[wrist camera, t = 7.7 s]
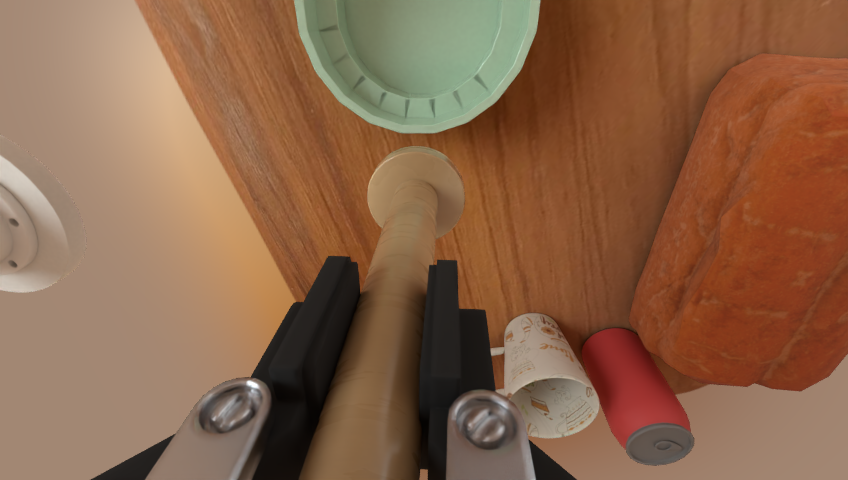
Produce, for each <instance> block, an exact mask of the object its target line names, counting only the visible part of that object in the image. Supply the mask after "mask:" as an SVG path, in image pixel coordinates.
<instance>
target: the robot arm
mask: <svg viewBox="0 0 848 480" xmlns="http://www.w3.org/2000/svg"><path fill="white" fill-rule="evenodd" d="M37 249H38V238H37V234H36V230H35V227H34V225H33V223H32V221H31V219H30V217H29V215H28V214H27V212H26V211H25V209H24V208H23V206H22V205H21V204H20V203H19V202H18V201H17V199H16V198H15V197H14V196H13V195H12V194H11V193H10V192H9V191H8V190H7V189H5V188H4V187H3V186H2V185H1V184H0V275H7V274H11V273H14V272H17V271H19V270H20V269H22V268H24V267H26V266H27V265H28V264H30V263H31V262H32V261H33V259H34V258H35V256H36V254H37ZM359 297H360V284H359V272H358V264H357V262H351V259H350V257H345V256H328V258H327V259H326V261H325V263H324V265H323V267H322V269H321V270H320V272H319V274H318V276H317V278H316V280H315V282H314V284H313V285H312V287H311V289H310V291H309V293H308V295H307V297H306V298H305V300H304V302H295V303H293V305H292V306H291V308H290V309H289V311H288V313H287V314H286V316H285V318H284V320H283V321H282V323H281V325H280V327H279V328H278V330H277V332H276V334H275V335H274V337H273V339H272V341H271V342H270V344H269V346H268V348H267V349H266V351H265V353H264V355H263V356H262V358H261V360H260V362H259V363H258V365H257V367H256V369H255V370H254V372H253V374H252V376H251V377H245V378H236V379H232V380H229V381H225V382H223V383H221V384H219V385H217V386H216V387H214V388H212V389H211V390H210V391H208V392H207V393H206V394H205V395H203V396H202V398H201V399H200V400H199V401H198V402H197V403H196V405H195V406H194V407H193V409H192V410H191V412H190V413H189V415H188V416H187V418H186V419H185V421H184V422H183V424H182V425H181V427H180V428H179V430H178V431H177V433H176V434H174V435H172V436H170V437H169V438H167V439H165V440H163V441H161V442H159V443H158V444H156V445H154V446H152V447H150V448H148V449H146V450H145V451H143V452H141V453H139V454H137V455H135V456H134V457H132V458H130V459H128V460H126V461H124V462H122V463H121V464H119V465H117V466H115V467H113V468H111V469H110V470H108V471H106V472H104V473H102V474H101V475H99V476H97V477H95V478H93V479H91V480H298V479H299V476H300V473H301V470H302V467H303V464H304V461H305V458H306V455H307V452H308V449H309V447H310V444H311V441H312V438H313V435H314V432H315V429H316V426H317V423H318V420H319V417H320V414H321V411H322V408H323V405H324V402H325V399H326V396H327V393H328V390H329V387H330V384H331V381H332V378H333V375H334V372H335V369H336V366H337V363H338V360H339V357H340V354H341V351H342V348H343V345H344V342H345V339H346V336H347V333H348V330H349V327H350V324H351V321H352V318H353V315H354V312H355V309H356V306H357V303H358V300H359ZM419 420H420V422H421V425H422V431H423V433H422V448H421V463H420V469H428V480H576V479H575V478H574V477H573V476H572V475H571V474H569V473H568V472H567V471H566V470H565V469H563V468H562V467H561V466H560V465H559V464H557V463H556V462H555V461H554V460H553V459H551V458H550V457H549V456H548V455H547V454H545V453H544V452H543V451H542V450H541V449H539V448H538V447H537V446H536V445H534V444H533V443H532V442H531V441H530V440H529V439H528V435H527V430H526V424H525V421H524V418H523V416H522V413H521V411H520V410H519V409H518V407H517V406H516V405H515V403H513V402H512V401H511V400H509V399H508V398H507V397H506V396H504V395H501V394H499V393H497V392H496V390H495V382H494V374H493V366H492V358H491V350H490V342H489V334H488V326H487V318H486V312H485V310H478V309H459V305H458V272H457V261H456V260H437V265H429V272H428V283H427V294H426V305H425V317H424V328H423V339H422V350H421V362H420V378H419Z"/></svg>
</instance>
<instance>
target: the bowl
mask: <svg viewBox="0 0 848 480" xmlns="http://www.w3.org/2000/svg"><path fill="white" fill-rule="evenodd" d="M294 2H295V9H296V15H297V22H298V29H299V33H300V37H301V39H302V41H303V44H304V46H305V48H306V51H307V53H308V55H309V58H310V60H311V62H312V65H313V67H314V69H315V71H316V73H317V74H318V76H319V77H320V78H321V79H322V81H323V82H324V83H325V84H326V86H327V87H328V88H329V89H330V91H331V92H332V93H333V94H334V96H335V97H336V98H337V99H338V101H339V102H340V103H342V104H343V105H344V106H346V107H347V108H349V109H350V110H352V111H353V112H354V113H356V114H357V115H359V116H360V117H361V118H363V119H364V120H366V121H367V122H369V123H371V124H374V125H377V126H380V127H383V128H386V129H389V130H392V131H395V132H398V133H438V132H441V131H444V130H447V129H450V128H453V127H456V126H459V125H462V124H465V123H467V122H469V121H471V120H472V119H473V118H475V117H476V116H478V115H479V114H480V113H482V112H483V111H485V110H486V109H487V108H489V107H490V106H492V105H493V104H494V103H496V102H497V101H498V100H499V98H500V97H501V96H502V94H503V93H504V92H505V90H506V89H507V88H508V87H509V85H510V84H511V83H512V81H513V80H514V79H515V78H516V76H517V75H518V74H519V72H520V71H521V69H522V67H523V64H524V62H525V59H526V57H527V54H528V52H529V49H530V47H531V44H532V42H533V39H534V37H535V34H536V32H537V31H536V30H537V27H538V18H539V9H540V0H294Z"/></svg>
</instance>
